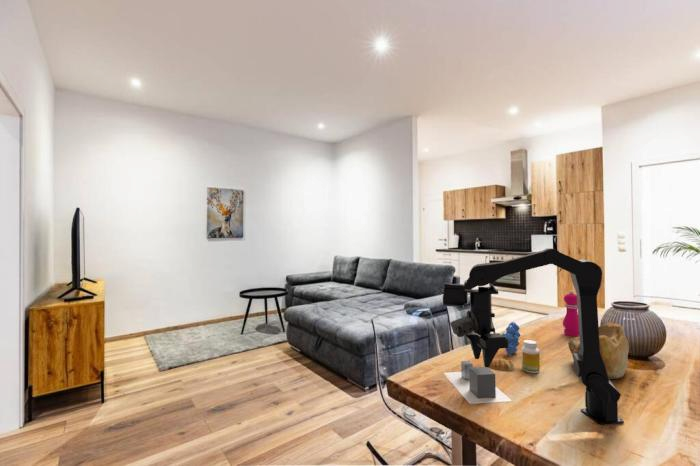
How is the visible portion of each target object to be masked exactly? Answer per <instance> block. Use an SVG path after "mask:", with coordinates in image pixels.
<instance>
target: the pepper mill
mask: <svg viewBox="0 0 700 466" xmlns="http://www.w3.org/2000/svg"><path fill="white" fill-rule="evenodd" d="M568 292H569V293H566V294H564V297H563V301H564V302H565V308H566V312H565V316H564V318H563V321H562V326H563V327H564V329H563V333H564V335H567V336H570V337H578V336H579V320H578V304H577V294H576V293H575V292H574V290H572V289H570V290H569V291H568Z"/></svg>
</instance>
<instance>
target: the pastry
mask: <svg viewBox="0 0 700 466" xmlns="http://www.w3.org/2000/svg"><path fill="white" fill-rule="evenodd" d="M488 368H489V369H493V370H499V371H505V372H515V367H514V362H513V360H512V359H509V360H507V359H504V358H503V359H502V358H500V359H495V360H494V359H493V360H492V362H491V364H490V366H489V367H488Z"/></svg>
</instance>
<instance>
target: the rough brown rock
mask: <svg viewBox="0 0 700 466" xmlns="http://www.w3.org/2000/svg"><path fill="white" fill-rule="evenodd" d="M599 341H600V353H601V356H602V359H603V362H604V364H605V367H606V371H607V374H608V378H609V380H615V379H620V378H623V377H624V375H625V373H626V371H627V368H628V366H629V359H628V357H629V355H628V354H629V352H630V350H629V349H630V348H629V347H630V346H629V341H628V339H627V336H626V332H625V330H624V328H623V326H622V325H621V324H619V323H615V322H613V321H608V322H607V323H605V324H602V325H600V326H599ZM567 346H568V349H569V351H570V353H571V354H572V353H576V354H578V352H579V349H580V337H579V336H575V337H573V338H571V339H569V341H568V343H567Z"/></svg>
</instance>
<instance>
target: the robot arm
mask: <svg viewBox="0 0 700 466" xmlns="http://www.w3.org/2000/svg"><path fill="white" fill-rule="evenodd" d="M549 265H553V266H556V267H558V268H560V269H562V270H565V271H566V272H568V273H569V274H570V279H571V282H572V285H573V288H574V290H575V294H576V295H577V304H578V308H577V313H578V320H579V337H580V349H579V352H578V354H576V353H571V355H572V359H573V363H572V366H571V367H572V368H573V370H574V372H575V373H576V375H577V377H578V378H579V379H580V381H581V382H582V384H583V385H584V386H585V391H584V393H585V394H584V398H585V400H584V401H585V403H584V405H585V407H584V408H580V412H582V413H583V414H584V415H586V416H587V417H589V418H590V419H592V420H593V421H594V422H596V423H597V424H599V425H608V424H609V425H610V424H623V423H625V420H624V419H623V418H621V417H619V415H618V414H619V413H618V411H619V410H618V409H619V407H618V405H619V404H618V402H619V401H620V398H621V396H622V394H621V392H620V390H618V389H617V387H616V386H615V384H614V383H613V382H612V381H611V379H609V378H608V374H607V371H606V367H605V364H604V362H603V359H602V356H601V353H600V341H599V327H600V326H599V325H600V324H599V315H598V314H599V313H598V294H599V292H600V289H601V285H602V280H603V271H602V268H601V266H600V265H598V264H597V263H596V262H593V261H590V260H587V259H582V258H581V259H575V258H574V257H571V256H569V255H568V254H565V253H563V252H560V251H559V250H558V249H555V248H553V247H549V248H545V249H543V250H540V251H536V252H533V253H530V254H525V255H521V256H517V257H514V258H511V259H507V260H504V261H496V262H483V263H478V264H475V265H473V266H472V267H471V269H470V271H469V274H468V278H467V279H466V280H464V283H463V284H461V283H450V282H444V284H443V294H442V305H443V307H453V308H464V307H465V306H466V305H468V304H470V305H469V310H468V309H467V311H466V315H465V316H464V317H460V318H458V319H455V320H453V321H451V322H450V323H449V324H450V327H451V330H452V333H453V334H454V335H456V336H457V337H458V338H462V337H464V336H465V337H466V338H467V339H468V340H469V344H470V346H471V350H472V353H473V357H474V359H475V360H479V359H480V357H481V353H482V360H483V364H484V366H483V367H489V366H490V364H491V362H492V360H494V359H495V356H496V354H497V353H498V352H499V350H500V349H505V348H508V347H509V341H508V339H507V338H506V337H504V336H502V334H501V333H497V332H496V328H495V327H494V326H493V318H495V316H496V315H495V314H496V313H494V312H493V311H492V307H493V306H492V305H493V304H492V295H499V290H498V289H497V288H496V287H495V286H494V284H493V283H494V282H497V280H499V279H501V278H504V277H506V276H508V275H513V274H517V273H520V272H525V271H529V270H533V269H536V268H540V267H544V266H549ZM491 283H492V284H491ZM488 285H489V286H488ZM476 287H478V289H476ZM469 300H470V301H469Z"/></svg>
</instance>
